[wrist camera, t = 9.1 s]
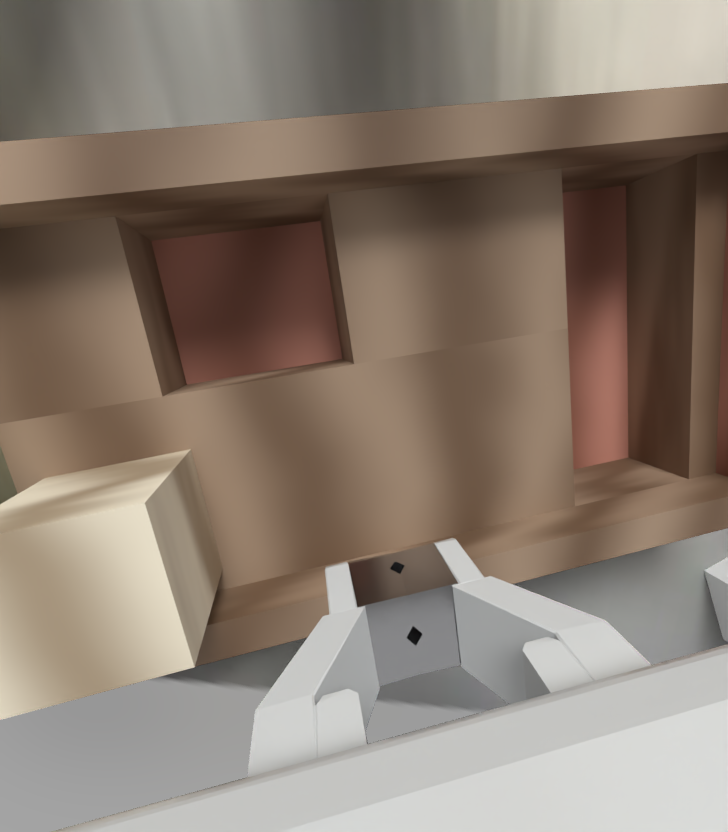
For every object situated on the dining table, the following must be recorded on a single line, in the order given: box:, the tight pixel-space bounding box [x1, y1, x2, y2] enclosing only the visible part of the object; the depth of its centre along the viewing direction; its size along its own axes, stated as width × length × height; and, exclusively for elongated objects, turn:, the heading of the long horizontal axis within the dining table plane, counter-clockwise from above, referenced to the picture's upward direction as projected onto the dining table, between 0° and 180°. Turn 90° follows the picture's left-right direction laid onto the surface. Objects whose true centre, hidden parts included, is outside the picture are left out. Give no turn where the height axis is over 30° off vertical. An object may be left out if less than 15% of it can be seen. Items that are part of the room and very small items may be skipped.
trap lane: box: [0, 83, 728, 666], centre depth 17 cm, size 32×17×7 cm, turn 99°
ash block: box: [0, 449, 223, 720], centre depth 13 cm, size 5×5×5 cm
